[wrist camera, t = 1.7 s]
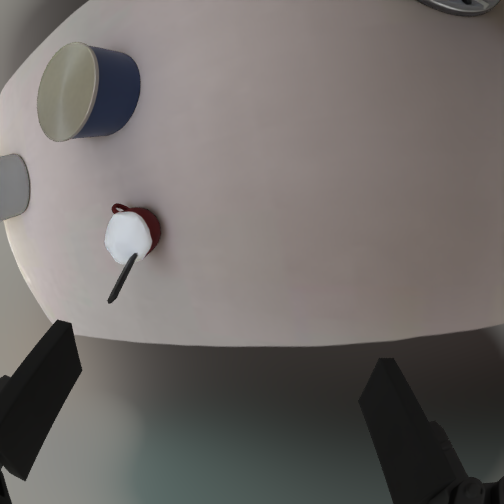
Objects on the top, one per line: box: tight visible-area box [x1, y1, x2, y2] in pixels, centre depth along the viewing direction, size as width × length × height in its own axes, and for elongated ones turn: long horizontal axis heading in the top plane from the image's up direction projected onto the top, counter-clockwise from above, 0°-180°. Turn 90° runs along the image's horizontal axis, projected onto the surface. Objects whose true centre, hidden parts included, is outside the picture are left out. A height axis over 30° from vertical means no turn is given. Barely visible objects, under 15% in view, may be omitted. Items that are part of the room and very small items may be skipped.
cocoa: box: [104, 204, 161, 304], centre depth 33 cm, size 10×6×12 cm, turn 19°
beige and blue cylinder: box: [37, 42, 140, 142], centre depth 30 cm, size 12×12×8 cm
